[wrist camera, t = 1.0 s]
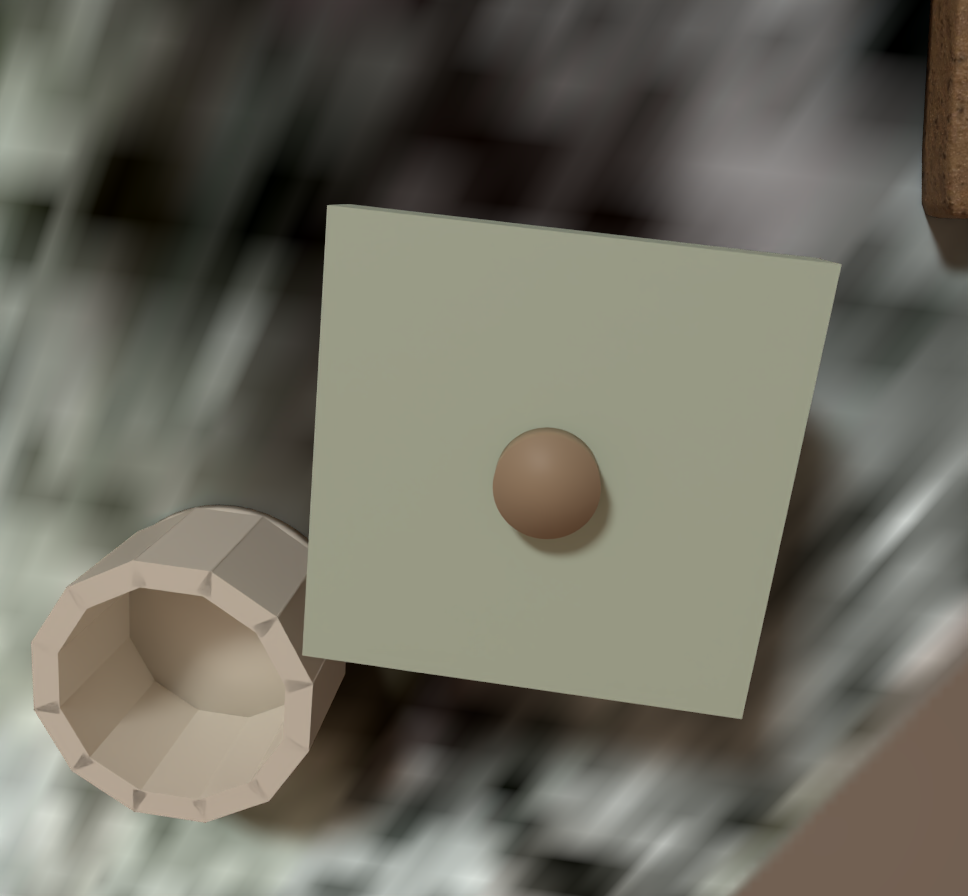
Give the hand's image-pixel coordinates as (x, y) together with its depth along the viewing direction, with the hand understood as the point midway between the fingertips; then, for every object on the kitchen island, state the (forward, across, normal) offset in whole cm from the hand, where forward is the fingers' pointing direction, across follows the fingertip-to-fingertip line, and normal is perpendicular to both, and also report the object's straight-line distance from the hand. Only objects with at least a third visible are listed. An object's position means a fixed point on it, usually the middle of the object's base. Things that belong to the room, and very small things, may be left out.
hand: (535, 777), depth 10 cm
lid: (+13, 0, 0) cm, 13 cm away
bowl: (+18, -10, -9) cm, 23 cm away
